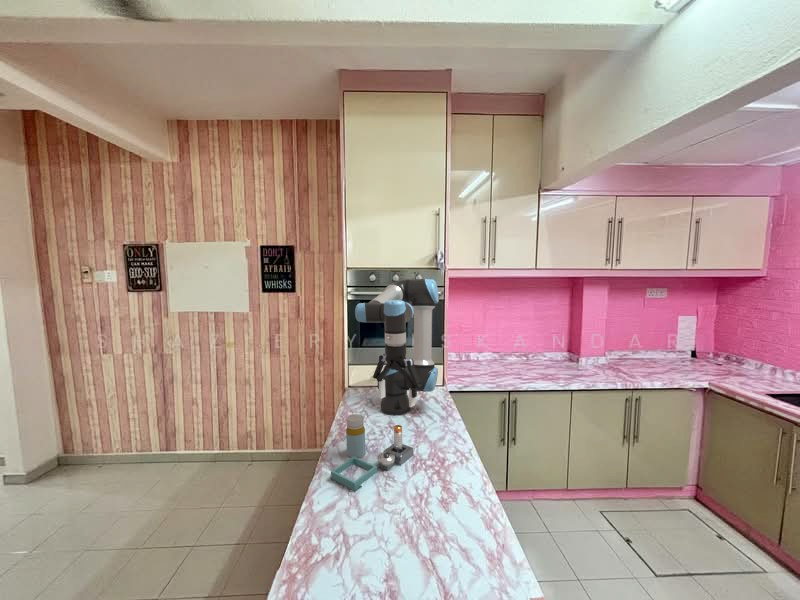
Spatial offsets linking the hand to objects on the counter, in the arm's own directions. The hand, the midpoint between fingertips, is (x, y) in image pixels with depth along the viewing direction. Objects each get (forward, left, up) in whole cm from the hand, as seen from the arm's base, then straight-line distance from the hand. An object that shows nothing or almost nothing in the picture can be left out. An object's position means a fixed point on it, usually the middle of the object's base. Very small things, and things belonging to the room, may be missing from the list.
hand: (396, 401), depth 124 cm
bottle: (+7, -15, -22) cm, 28 cm away
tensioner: (+3, 0, -22) cm, 22 cm away
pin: (0, 0, -21) cm, 21 cm away
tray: (+17, -6, -22) cm, 28 cm away
